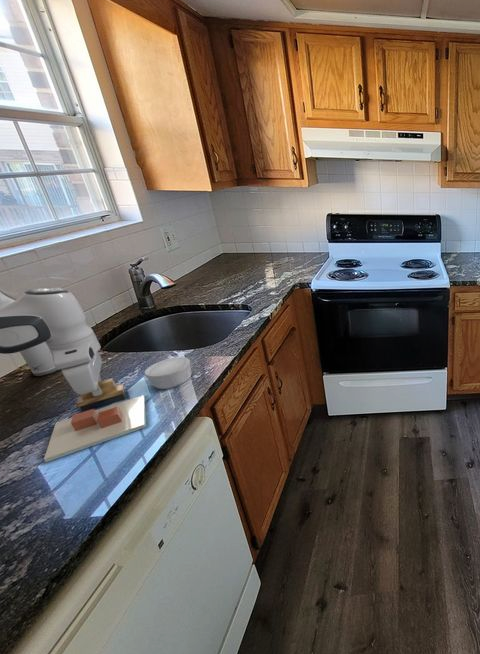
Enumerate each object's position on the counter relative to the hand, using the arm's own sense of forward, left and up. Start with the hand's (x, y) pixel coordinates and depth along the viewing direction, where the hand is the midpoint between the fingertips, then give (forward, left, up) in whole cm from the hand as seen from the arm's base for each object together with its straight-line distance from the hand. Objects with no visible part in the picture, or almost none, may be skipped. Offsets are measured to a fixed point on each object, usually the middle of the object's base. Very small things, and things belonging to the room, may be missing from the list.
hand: (99, 391), depth 100 cm
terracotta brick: (+3, -14, -3) cm, 14 cm away
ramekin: (+16, 0, -4) cm, 16 cm away
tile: (0, -13, -4) cm, 13 cm away
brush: (0, 0, -4) cm, 4 cm away
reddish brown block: (-2, -11, -3) cm, 12 cm away
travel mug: (-16, +35, -4) cm, 39 cm away
